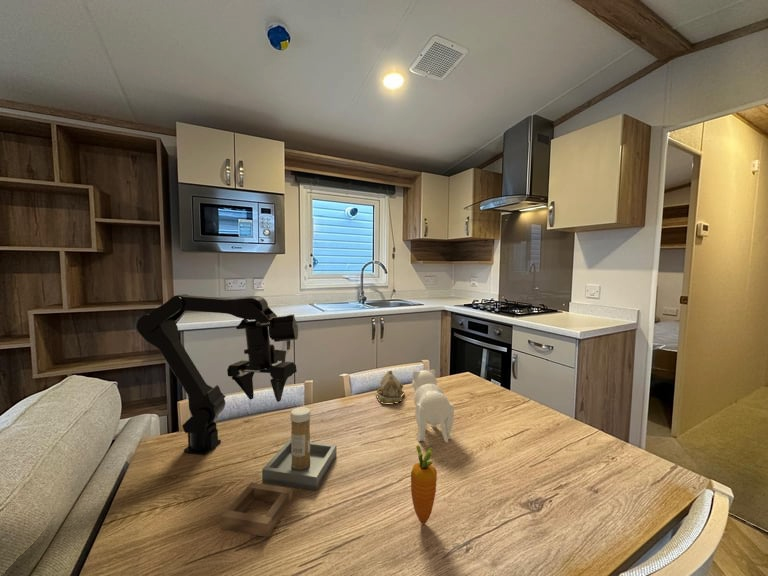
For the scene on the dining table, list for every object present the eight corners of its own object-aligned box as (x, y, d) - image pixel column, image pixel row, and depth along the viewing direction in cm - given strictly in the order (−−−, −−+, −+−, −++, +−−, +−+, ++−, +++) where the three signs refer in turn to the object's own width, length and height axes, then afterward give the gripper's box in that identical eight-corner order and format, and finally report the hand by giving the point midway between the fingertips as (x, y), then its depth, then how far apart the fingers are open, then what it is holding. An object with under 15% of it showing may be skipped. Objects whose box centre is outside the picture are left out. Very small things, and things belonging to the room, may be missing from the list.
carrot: (408, 514, 64) (409, 441, 63) (432, 513, 64) (434, 440, 63) (412, 535, 59) (413, 456, 58) (439, 533, 59) (440, 454, 58)
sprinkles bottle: (314, 462, 79) (314, 409, 78) (301, 473, 75) (301, 416, 74) (300, 457, 81) (299, 405, 80) (286, 467, 77) (286, 412, 76)
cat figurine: (467, 456, 84) (468, 393, 82) (428, 460, 81) (429, 396, 80) (433, 413, 108) (434, 364, 107) (403, 416, 106) (403, 366, 105)
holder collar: (221, 528, 60) (220, 515, 60) (251, 493, 69) (251, 482, 69) (267, 537, 58) (267, 524, 58) (292, 499, 67) (292, 488, 67)
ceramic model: (375, 390, 128) (375, 365, 127) (403, 390, 129) (403, 365, 128) (375, 405, 114) (376, 377, 113) (407, 405, 115) (407, 377, 114)
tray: (262, 482, 73) (262, 469, 73) (289, 450, 85) (289, 439, 85) (316, 490, 70) (316, 477, 70) (336, 456, 83) (336, 444, 83)
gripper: (305, 336, 90) (311, 390, 91) (252, 336, 97) (258, 386, 98) (279, 346, 80) (286, 407, 81) (222, 346, 86) (229, 402, 87)
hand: (265, 400), depth 87 cm, fingers open, 9 cm apart
